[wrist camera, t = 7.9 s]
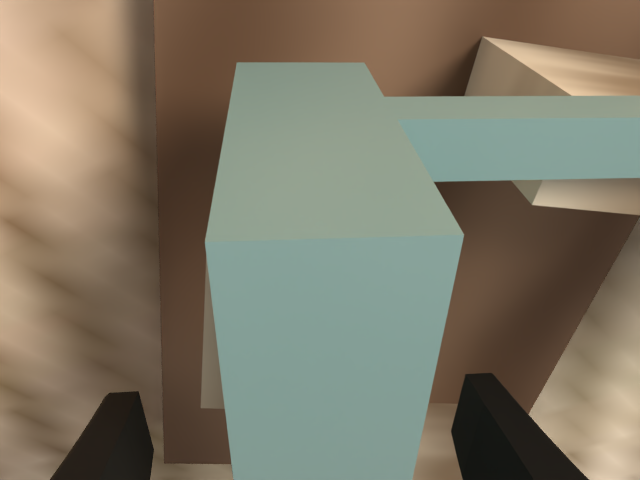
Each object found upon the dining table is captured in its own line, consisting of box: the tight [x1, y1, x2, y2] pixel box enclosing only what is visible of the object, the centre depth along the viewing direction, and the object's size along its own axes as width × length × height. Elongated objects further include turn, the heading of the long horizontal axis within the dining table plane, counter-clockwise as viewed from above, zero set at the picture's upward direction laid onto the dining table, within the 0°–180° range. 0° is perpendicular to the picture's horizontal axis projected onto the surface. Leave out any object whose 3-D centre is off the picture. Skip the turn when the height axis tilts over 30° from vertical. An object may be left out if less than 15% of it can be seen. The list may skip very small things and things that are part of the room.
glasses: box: [205, 62, 640, 480], centre depth 11 cm, size 10×14×6 cm
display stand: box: [153, 0, 640, 480], centre depth 15 cm, size 14×19×6 cm
